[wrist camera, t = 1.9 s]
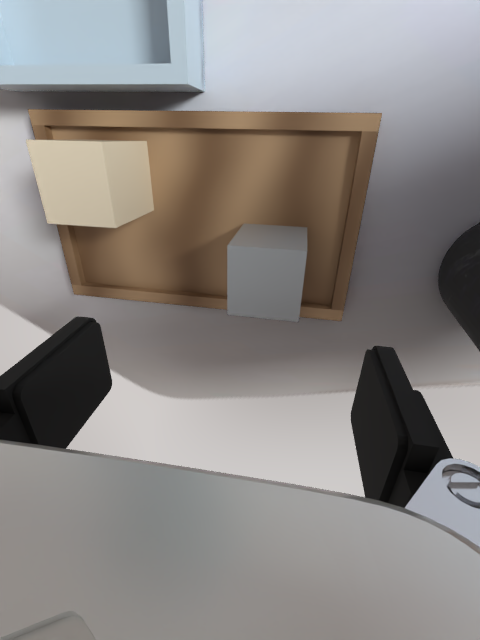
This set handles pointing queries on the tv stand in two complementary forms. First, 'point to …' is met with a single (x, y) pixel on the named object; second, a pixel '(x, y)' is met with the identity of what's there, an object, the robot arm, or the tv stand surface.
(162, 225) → the walnut tray
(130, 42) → the light blue tray
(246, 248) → the gray block
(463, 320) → the travel mug
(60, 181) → the cream rectangular block
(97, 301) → the tv stand surface
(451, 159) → the tv stand surface
